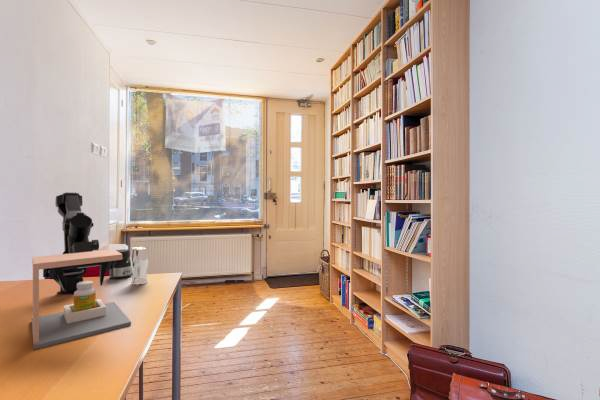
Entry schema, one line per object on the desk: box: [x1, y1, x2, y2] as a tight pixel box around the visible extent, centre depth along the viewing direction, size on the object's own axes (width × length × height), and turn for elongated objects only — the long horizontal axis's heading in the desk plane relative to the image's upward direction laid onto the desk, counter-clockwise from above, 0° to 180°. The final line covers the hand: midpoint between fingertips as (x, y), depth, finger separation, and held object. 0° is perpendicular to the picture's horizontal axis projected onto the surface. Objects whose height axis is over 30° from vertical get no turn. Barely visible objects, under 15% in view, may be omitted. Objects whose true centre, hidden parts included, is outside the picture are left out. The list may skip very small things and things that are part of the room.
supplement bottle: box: [73, 280, 97, 312], centre depth 92 cm, size 5×5×10 cm
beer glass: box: [129, 246, 150, 286], centre depth 129 cm, size 7×7×15 cm
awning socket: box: [31, 248, 132, 350], centre depth 88 cm, size 22×21×20 cm
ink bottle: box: [109, 248, 133, 280], centre depth 139 cm, size 10×9×12 cm
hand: (83, 287), depth 93 cm, fingers open, 9 cm apart
